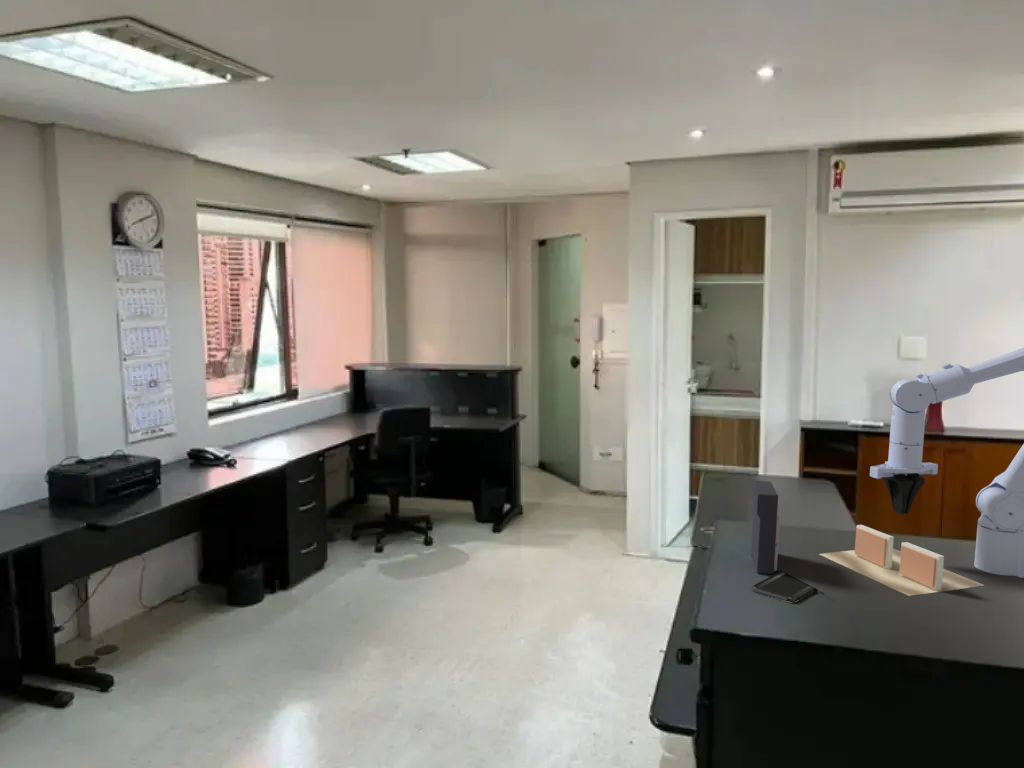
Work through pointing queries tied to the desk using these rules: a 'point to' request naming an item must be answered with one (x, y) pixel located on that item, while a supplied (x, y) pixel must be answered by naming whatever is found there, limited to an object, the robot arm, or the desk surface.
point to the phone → (783, 587)
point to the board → (897, 574)
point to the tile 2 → (921, 566)
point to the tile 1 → (874, 546)
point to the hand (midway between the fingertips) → (900, 512)
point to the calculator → (765, 526)
